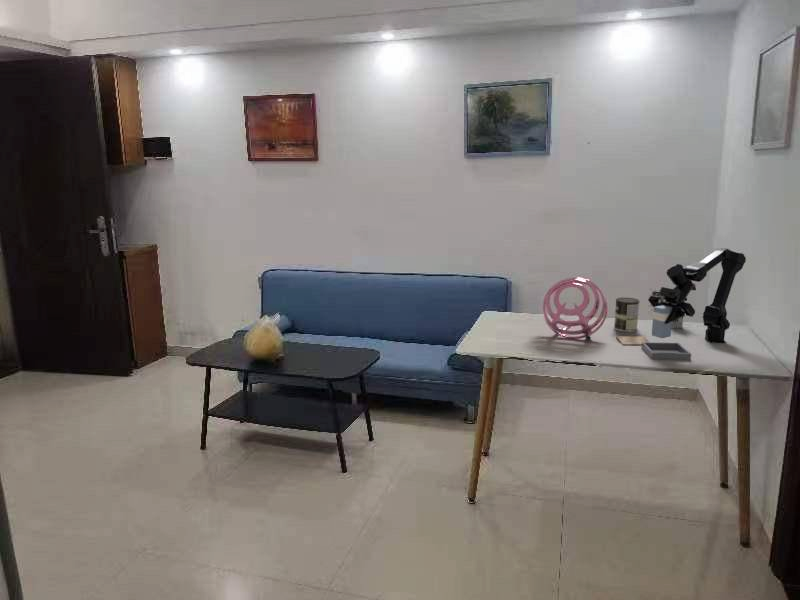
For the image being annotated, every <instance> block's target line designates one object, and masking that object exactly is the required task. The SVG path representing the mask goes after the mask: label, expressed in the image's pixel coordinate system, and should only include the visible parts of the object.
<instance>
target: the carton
mask: <svg viewBox="0 0 800 600" xmlns="http://www.w3.org/2000/svg"><path fill="white" fill-rule="evenodd" d="M671 312H672V307H668V306H663V305H661V306H656V307H653V312H652V326H651V327H652V328H651V336H653V337H656V338H659V339H665V338H670V337H672V328H671V325H672V322H670V323H668V324H665V321H666V319H667V318H668V316H669V315H670V313H671Z"/></svg>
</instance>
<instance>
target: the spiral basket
mask: <svg viewBox="0 0 800 600" xmlns="http://www.w3.org/2000/svg"><path fill="white" fill-rule="evenodd" d="M585 286H588V287H589V289H591V291H592V293H593V296H594V304H593V305H594V306H593V307H592V310H591V311H590V312H589V313H588V314H587V315H586V316H584V315H583V312H584V311H585V310H586V309H587V307H588V306H589V303H590V299H591V297H590V294H589V291H588V289H587V288H586V287H585ZM568 288H576V289H578V290H580V292H581V293H582V295H583V301H582V302H581V304H580V305H579V306H578V305H577V304H576V303H575V302H573V307H574V308H572V309H571V308H566V305H567V301H565V302H564V303H563V304H561V303H560V300H559V298H560V295H561V293H562V292H563V291H564V290H565V289H568ZM553 295H554V296H553ZM552 296H553V305H554V307H555V308H556V310H557V312H556V313H554V311H553V310H552V307H551V304H550V302H551V301H550V300H551V297H552ZM600 296H601V301H600ZM601 302H602V308H601V312H600V314H599V316H598V317H597V318H596V320H594V322H593V323H592V324H590V325H589V322H590V321H591V320H592V319H593V318H594V317H595V315H596V314H597V313H598V311H599V308H600V303H601ZM546 311H547V312H548V315H549V316H550V318H551V320H552V321H551V320H550V318H549V317H548V315H547V312H546ZM542 313H543V317H544V321H545V323H546V325H547V326H548V327H549V329H550V330H551V331H552V332H553V333H554V334H556V335H557V336H560V337H562V338H565V339H569V338H570V339H569V340H571V339H572V340H578V339H583V338H588V337H589V338H590V337H591V336H592V335H594V334H595V333H596V332H597V331H598V330H600V328H601V327H602V326H603V324H604V322H605V321H606V319H607V315H608V302H607V299H606V297H605V295H604V293H603V291H602V290H601V289H600V287H599V286H598V285H597V284H595V283H594V282H593V281H591V280H589V279H586V278H582V277H568V278H564V279H561V280H559V281H558V282H555V283H554V284H553V285H552V286H551V287H550V288H549V289H548V290H547V292H546V293H545V296H544V298H543V300H542ZM562 314H564V315H567V316H575V315H577V316H578V318H579V319H576V320H573V321H571V320H565V319H562V318H561V317H560V316H561V315H562ZM557 324H559V325H562V326H566V327H564V328H560V327H559V326H558V325H557ZM598 324H599V325H598ZM578 326H580V327H581V329H578V330H569V329H570V328H572V327H578ZM561 333H562V334H561ZM582 334H584V335H582ZM569 335H570V336H569ZM571 335H574V336H571ZM575 335H577V336H575ZM578 335H579V336H578Z"/></svg>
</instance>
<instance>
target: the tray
mask: <svg viewBox="0 0 800 600" xmlns="http://www.w3.org/2000/svg"><path fill="white" fill-rule="evenodd" d="M641 349H642V351H643V352H644V353H645V354H646V355H647V356H648V357H649V358H650V359H651V360H666V361H667V360H675V361H677V360H678V361H679V360H681V361H691V359H692V353H691V352H689V350H688V349H686V348H685V346H683V345H682V344H681V343H680V342H654V341H653V342H650V341H649V342H642V346H641Z"/></svg>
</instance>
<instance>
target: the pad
mask: <svg viewBox="0 0 800 600" xmlns="http://www.w3.org/2000/svg"><path fill="white" fill-rule="evenodd" d="M615 338H616V340H617V342H618V343H619V344H621V345H622V346H641V347H642V342H650V341H649V340H648V339H647V338H646V337H645V336H642V335H641V336H640V335H639V336H638V335H637V336H633V335H632V336H631V335H628V336H627V335H626V336H624V335H623V336H622V335H616V336H615Z"/></svg>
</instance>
